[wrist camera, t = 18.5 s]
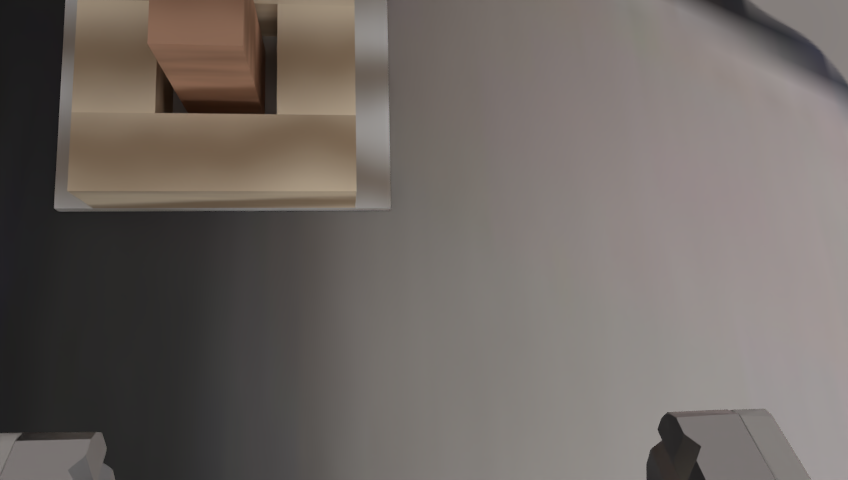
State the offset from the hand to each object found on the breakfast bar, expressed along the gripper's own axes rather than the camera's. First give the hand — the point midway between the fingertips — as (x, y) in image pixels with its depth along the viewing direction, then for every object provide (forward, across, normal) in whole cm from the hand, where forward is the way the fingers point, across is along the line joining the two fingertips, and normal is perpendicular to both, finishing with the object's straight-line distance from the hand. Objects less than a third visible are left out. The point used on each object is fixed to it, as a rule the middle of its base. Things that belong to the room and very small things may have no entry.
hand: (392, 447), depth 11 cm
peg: (+34, +7, +10) cm, 36 cm away
